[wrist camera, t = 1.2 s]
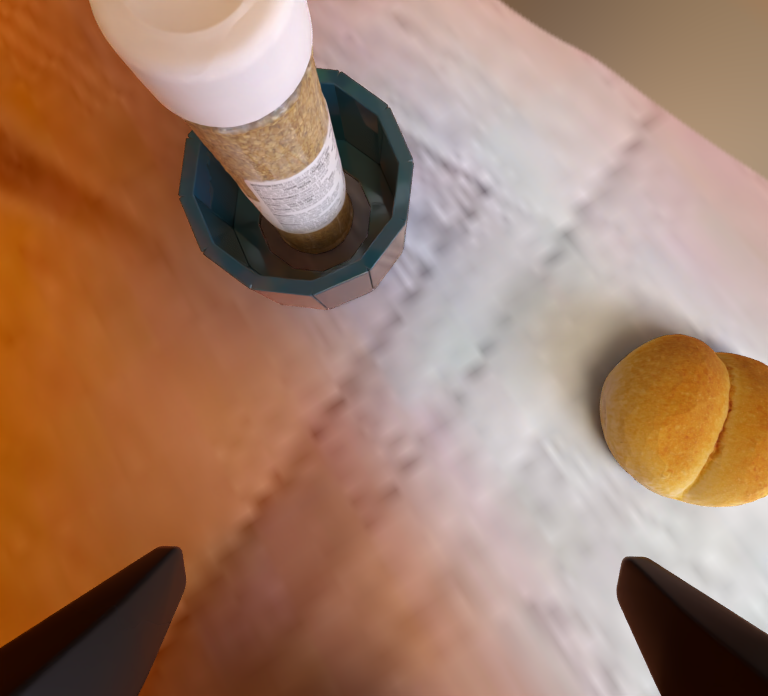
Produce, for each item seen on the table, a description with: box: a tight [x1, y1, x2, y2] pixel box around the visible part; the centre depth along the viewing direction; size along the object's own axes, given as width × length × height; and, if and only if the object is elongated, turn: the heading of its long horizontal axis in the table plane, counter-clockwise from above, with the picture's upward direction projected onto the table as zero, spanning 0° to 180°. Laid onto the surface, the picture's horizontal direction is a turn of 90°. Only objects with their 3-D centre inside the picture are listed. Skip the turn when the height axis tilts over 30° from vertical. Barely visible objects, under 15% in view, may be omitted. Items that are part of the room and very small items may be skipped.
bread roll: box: [600, 334, 768, 507], centre depth 18 cm, size 8×9×4 cm
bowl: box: [178, 68, 414, 310], centre depth 19 cm, size 10×10×4 cm
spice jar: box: [89, 0, 353, 254], centre depth 14 cm, size 5×5×13 cm
